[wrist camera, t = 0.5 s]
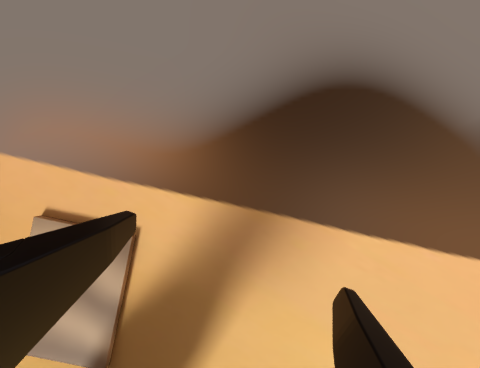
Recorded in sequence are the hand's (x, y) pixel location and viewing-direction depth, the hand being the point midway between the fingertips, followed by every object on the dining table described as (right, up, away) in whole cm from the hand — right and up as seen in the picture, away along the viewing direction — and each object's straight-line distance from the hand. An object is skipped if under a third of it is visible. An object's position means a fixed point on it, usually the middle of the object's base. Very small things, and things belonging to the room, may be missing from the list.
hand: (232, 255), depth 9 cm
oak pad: (-17, -8, +14) cm, 23 cm away
